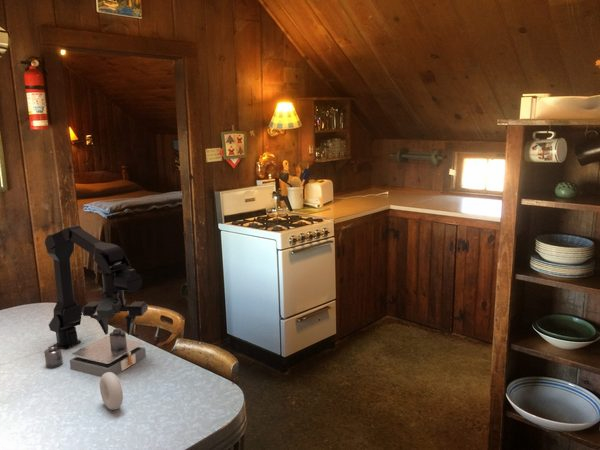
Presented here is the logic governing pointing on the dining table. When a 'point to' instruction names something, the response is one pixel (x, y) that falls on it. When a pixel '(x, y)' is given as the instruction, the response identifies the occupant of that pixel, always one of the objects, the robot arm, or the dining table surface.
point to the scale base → (83, 366)
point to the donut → (111, 390)
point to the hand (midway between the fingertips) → (117, 334)
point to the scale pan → (105, 351)
